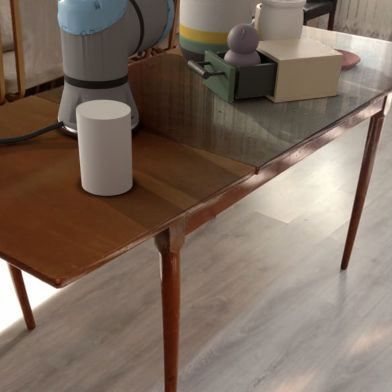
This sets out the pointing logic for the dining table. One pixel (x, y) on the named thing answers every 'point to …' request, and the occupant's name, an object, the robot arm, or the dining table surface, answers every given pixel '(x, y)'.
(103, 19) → the robot arm
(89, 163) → the white cylinder
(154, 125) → the dining table surface
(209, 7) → the vase
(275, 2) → the jar
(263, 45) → the cabinet
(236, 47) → the cat figurine
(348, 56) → the plate
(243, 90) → the drawer
